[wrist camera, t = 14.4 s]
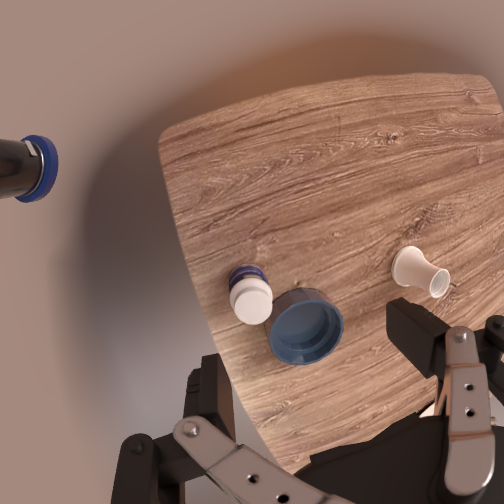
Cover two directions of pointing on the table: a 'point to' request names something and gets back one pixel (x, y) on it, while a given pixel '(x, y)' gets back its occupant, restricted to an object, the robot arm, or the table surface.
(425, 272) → the vase
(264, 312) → the pill bottle
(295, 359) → the bowl
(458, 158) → the table surface
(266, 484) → the robot arm
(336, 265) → the table surface
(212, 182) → the table surface
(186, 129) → the table surface
